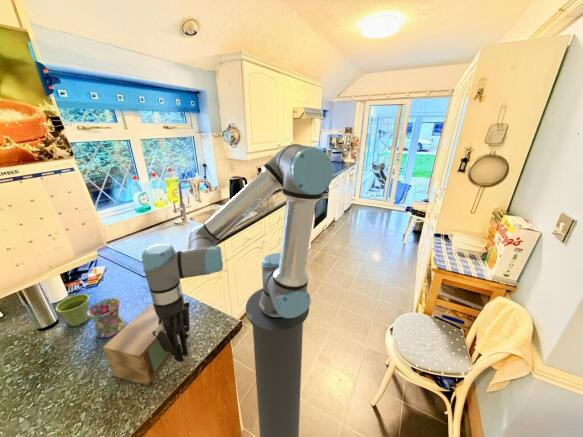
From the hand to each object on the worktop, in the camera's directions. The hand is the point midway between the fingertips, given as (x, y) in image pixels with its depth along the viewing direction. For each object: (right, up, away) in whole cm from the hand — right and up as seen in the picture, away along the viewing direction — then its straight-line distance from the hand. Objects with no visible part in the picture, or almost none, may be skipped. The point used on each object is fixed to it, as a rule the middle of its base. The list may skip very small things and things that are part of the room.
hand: (181, 356), depth 74 cm
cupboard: (-11, -1, +3) cm, 11 cm away
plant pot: (-47, +5, +16) cm, 50 cm away
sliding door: (-3, -1, -1) cm, 3 cm away
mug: (-31, +2, +11) cm, 33 cm away
